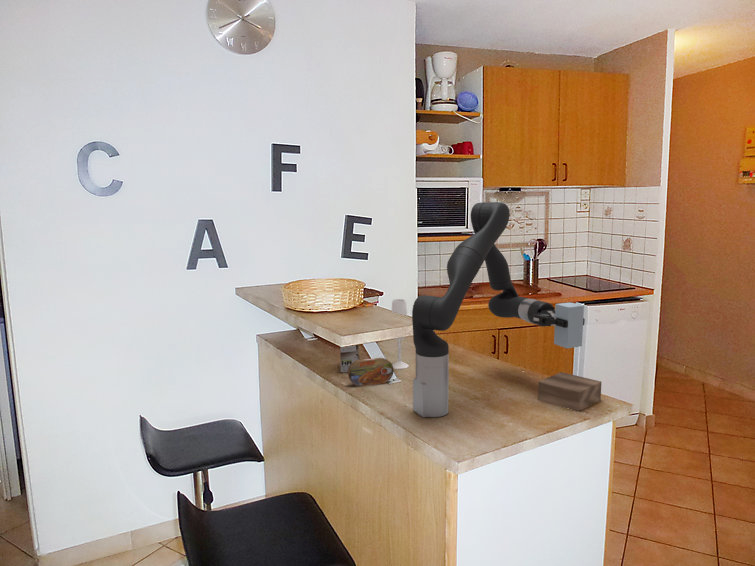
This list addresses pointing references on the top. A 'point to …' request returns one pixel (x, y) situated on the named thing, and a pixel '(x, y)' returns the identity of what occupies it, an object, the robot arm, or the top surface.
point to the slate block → (569, 325)
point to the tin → (370, 371)
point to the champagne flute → (400, 308)
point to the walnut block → (569, 391)
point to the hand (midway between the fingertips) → (575, 323)
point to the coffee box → (348, 356)
